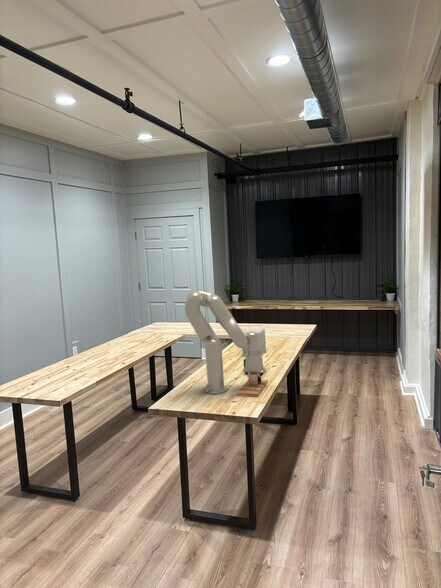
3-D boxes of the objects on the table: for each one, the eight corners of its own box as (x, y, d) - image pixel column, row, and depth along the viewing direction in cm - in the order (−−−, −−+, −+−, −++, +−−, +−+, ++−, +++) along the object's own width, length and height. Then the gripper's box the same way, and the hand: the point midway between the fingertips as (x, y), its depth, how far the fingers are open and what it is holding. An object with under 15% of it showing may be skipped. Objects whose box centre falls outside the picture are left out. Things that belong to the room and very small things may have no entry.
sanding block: (257, 385, 245) (256, 375, 244) (249, 385, 246) (249, 375, 245) (260, 381, 251) (259, 371, 250) (252, 381, 253) (252, 371, 252)
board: (257, 397, 231) (257, 394, 230) (236, 395, 235) (236, 393, 234) (267, 382, 253) (267, 380, 253) (248, 381, 257) (248, 379, 257)
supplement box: (250, 351, 330) (248, 328, 328) (266, 351, 324) (265, 328, 322) (242, 356, 314) (240, 333, 312) (258, 357, 309) (257, 333, 307)
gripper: (268, 351, 247) (270, 381, 249) (241, 350, 253) (243, 380, 255) (265, 354, 240) (267, 385, 242) (237, 354, 246) (239, 384, 248)
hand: (255, 382), depth 249 cm, fingers closed on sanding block, 4 cm apart
